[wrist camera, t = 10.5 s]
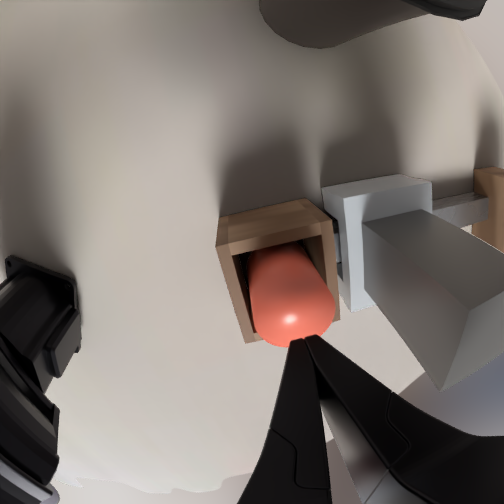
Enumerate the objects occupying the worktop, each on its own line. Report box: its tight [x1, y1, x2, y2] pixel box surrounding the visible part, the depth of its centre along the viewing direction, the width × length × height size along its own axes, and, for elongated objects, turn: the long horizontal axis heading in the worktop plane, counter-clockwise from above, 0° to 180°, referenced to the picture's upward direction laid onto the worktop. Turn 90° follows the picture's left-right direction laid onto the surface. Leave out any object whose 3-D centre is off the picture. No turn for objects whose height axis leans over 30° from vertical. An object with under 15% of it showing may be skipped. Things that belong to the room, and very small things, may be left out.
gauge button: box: [247, 241, 335, 347], centre depth 11 cm, size 3×3×4 cm
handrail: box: [332, 192, 489, 263], centre depth 14 cm, size 13×2×2 cm, turn 102°
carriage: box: [321, 174, 504, 392], centre depth 10 cm, size 5×6×10 cm
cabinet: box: [215, 198, 340, 344], centre depth 13 cm, size 5×5×4 cm
